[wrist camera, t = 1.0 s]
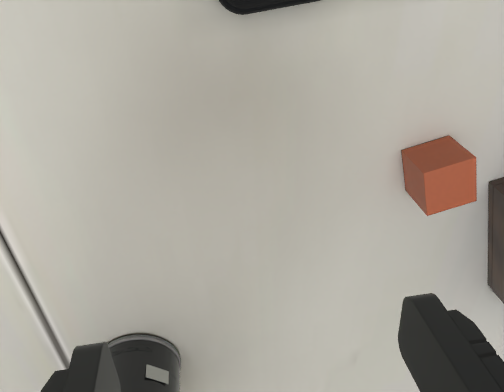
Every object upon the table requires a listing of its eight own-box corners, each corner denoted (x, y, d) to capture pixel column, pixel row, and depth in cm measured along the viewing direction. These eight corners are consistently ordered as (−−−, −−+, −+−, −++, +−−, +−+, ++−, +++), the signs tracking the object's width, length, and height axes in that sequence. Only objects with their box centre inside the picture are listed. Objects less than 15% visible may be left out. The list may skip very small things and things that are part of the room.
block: (450, 176, 45) (476, 201, 41) (405, 190, 45) (427, 216, 41) (449, 135, 42) (476, 157, 38) (401, 150, 43) (423, 173, 39)
